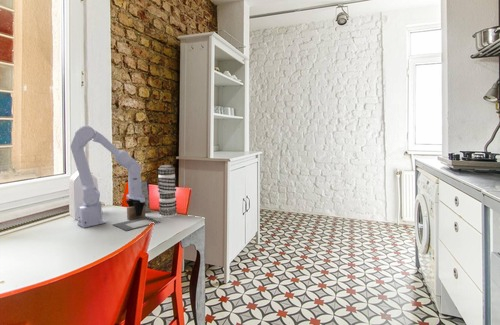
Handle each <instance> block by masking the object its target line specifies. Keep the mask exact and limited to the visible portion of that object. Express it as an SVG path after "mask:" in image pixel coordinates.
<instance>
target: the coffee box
mask: <svg viewBox="0 0 500 325" xmlns="http://www.w3.org/2000/svg"><path fill="white" fill-rule="evenodd" d="M149 182H150V181H149V180H143V179H141V189H142V195H144V198H145V201H146V203H145V213H146V212H150V211H151V207H150V204H151V203H150V186H149ZM127 185H128V191H129V184H128V183H127Z"/></svg>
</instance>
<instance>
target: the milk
mask: <svg viewBox="0 0 500 325" xmlns="http://www.w3.org/2000/svg"><path fill="white" fill-rule="evenodd" d="M90 172H91V175H92V179H93V182H94V184H95V187H96V189H97V190H98V191H99V185H98V179H97V178H96V176H95V175H93V172H92V171H90ZM83 197H84V192H83V186H82V183H81V179H80V176H79V173H78V170H76V172H74V173H73V174H72V175H71V176H70V177H69V180H68V204H69V205H68V208H69V210H68V211H69V214H70V215H69V217H71V218H72V219H73V220H74V221H78V218H77V208H78V207H80V206H83V203H85V202H84V200H83Z"/></svg>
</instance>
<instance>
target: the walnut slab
mask: <svg viewBox="0 0 500 325" xmlns="http://www.w3.org/2000/svg"><path fill="white" fill-rule="evenodd" d="M126 214H127V216H126V218H127V220H126V221H129V220H134V219H138V218H143V217H146V212H145V205H144V207H143V210H142V215H141V216H137V215H136V210H135V207H134V206H132V207H129V206H128V207H126Z"/></svg>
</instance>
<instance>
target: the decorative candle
mask: <svg viewBox="0 0 500 325" xmlns="http://www.w3.org/2000/svg"><path fill="white" fill-rule="evenodd" d="M156 181H157V188H158V190H157V192H158V194H159V200H158V204H159V205H158V207H159V208H158V211H159V212H158V213H159V217H160V218H172V217H176V216H178V213H177V212H178V210H177V209H178V207H177V198H176V192H177V189H176V188H177V185H176V184H177V178H176V174H175V167H174V166H173V165H172V164H163V165H160V166H159V168H158V176H157V179H156Z"/></svg>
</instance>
